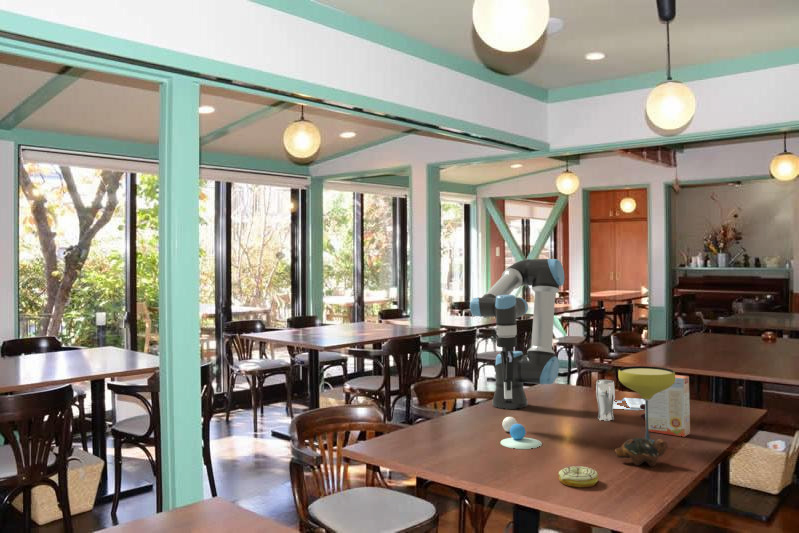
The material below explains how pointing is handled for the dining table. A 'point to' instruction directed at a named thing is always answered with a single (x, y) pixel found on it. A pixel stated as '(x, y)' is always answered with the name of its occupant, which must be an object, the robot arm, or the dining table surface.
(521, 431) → the blue object ball
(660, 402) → the cracker box
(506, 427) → the white cue ball
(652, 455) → the decorative turtle
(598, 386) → the beer glass
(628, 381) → the cocktail glass
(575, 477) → the decorated donut
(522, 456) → the dining table surface
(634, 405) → the snack bag
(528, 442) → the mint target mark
